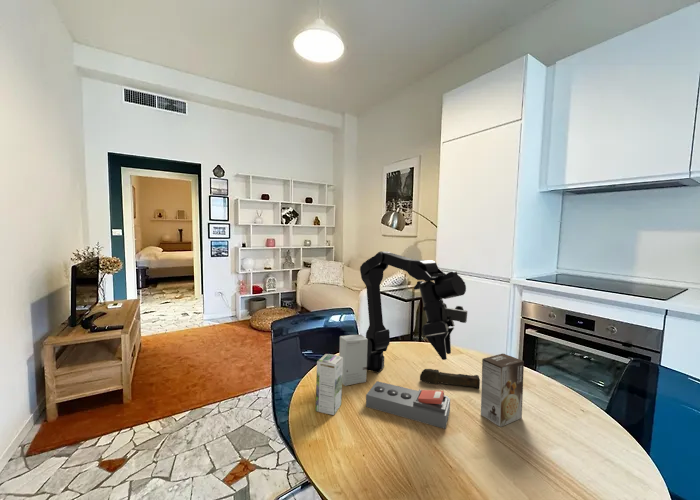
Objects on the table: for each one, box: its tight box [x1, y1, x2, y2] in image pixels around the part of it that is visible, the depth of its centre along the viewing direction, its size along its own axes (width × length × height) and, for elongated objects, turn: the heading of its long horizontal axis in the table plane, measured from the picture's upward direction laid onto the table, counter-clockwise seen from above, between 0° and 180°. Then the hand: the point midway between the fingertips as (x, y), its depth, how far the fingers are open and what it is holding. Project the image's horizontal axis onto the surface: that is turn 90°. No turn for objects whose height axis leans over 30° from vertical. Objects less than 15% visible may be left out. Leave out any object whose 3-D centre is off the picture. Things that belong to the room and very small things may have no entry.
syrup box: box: [315, 353, 343, 416], centre depth 84 cm, size 6×6×14 cm
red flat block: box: [418, 389, 445, 404], centre depth 82 cm, size 6×5×1 cm
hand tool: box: [419, 368, 481, 390], centre depth 100 cm, size 19×4×5 cm, turn 78°
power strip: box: [365, 380, 451, 430], centre depth 85 cm, size 22×9×4 cm, turn 65°
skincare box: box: [338, 334, 368, 387], centre depth 101 cm, size 8×6×15 cm
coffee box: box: [480, 353, 525, 428], centre depth 82 cm, size 9×6×16 cm
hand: (446, 356), depth 84 cm, fingers open, 9 cm apart
